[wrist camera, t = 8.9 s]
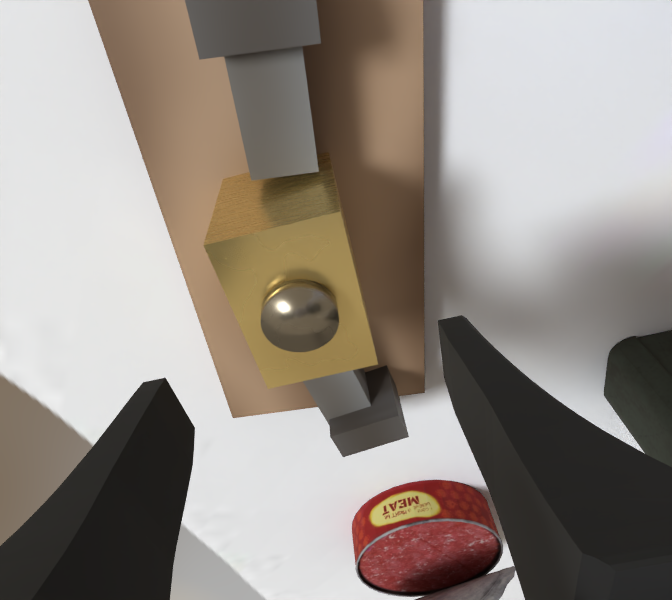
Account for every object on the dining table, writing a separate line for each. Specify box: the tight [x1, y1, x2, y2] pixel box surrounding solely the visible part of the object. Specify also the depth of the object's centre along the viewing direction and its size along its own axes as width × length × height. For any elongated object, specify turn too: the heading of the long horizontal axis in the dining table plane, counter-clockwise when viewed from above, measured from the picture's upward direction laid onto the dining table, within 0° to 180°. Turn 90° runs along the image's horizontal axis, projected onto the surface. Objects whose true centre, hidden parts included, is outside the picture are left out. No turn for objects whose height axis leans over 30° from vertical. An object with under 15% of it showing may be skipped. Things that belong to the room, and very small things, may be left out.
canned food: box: [352, 480, 516, 600], centre depth 32 cm, size 11×10×10 cm
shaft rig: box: [88, 0, 425, 457], centre depth 19 cm, size 10×19×4 cm, turn 6°
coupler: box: [203, 152, 378, 389], centre depth 17 cm, size 6×4×6 cm, turn 13°
